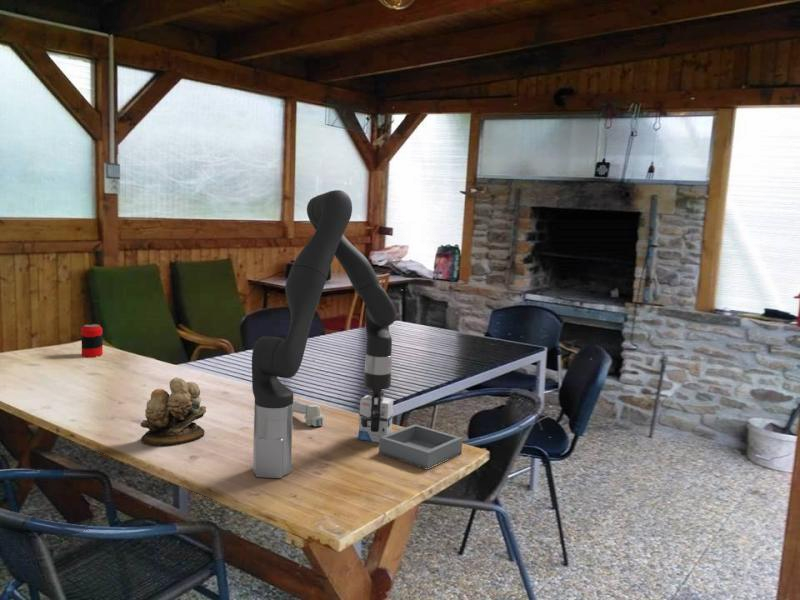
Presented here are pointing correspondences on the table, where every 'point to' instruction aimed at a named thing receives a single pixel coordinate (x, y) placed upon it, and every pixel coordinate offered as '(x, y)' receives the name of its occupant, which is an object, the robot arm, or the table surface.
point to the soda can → (92, 340)
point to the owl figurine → (173, 415)
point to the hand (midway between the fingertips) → (375, 426)
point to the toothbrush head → (309, 413)
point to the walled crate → (420, 446)
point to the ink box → (384, 420)
